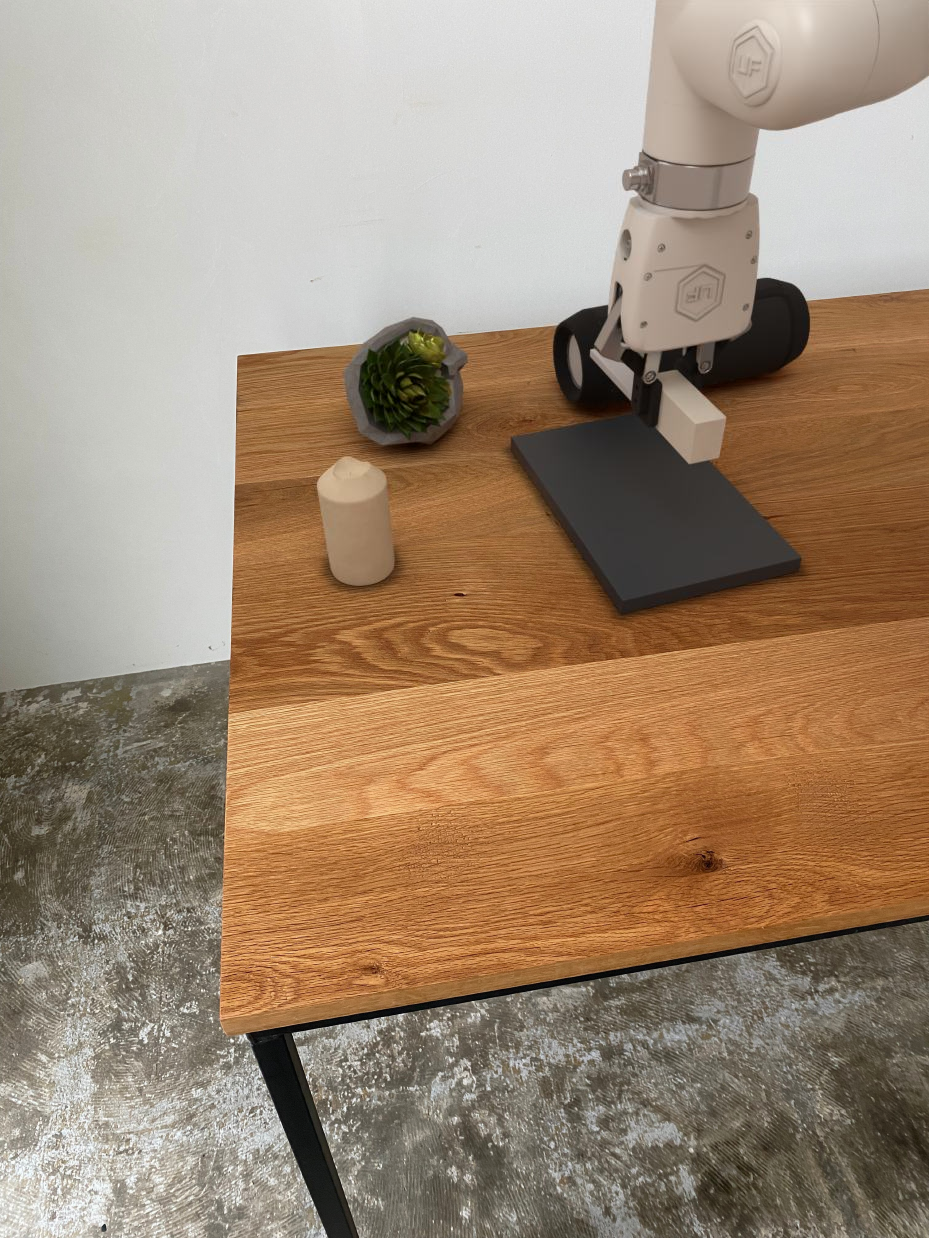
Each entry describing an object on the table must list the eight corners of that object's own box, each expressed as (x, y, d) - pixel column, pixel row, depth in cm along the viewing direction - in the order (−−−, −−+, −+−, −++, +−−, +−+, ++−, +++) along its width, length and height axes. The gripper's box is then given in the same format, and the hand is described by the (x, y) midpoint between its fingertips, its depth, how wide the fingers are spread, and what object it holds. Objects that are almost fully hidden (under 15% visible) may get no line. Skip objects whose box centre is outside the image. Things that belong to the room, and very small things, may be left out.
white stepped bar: (719, 458, 72) (727, 417, 70) (689, 464, 71) (695, 423, 69) (615, 351, 85) (619, 314, 83) (589, 356, 85) (592, 318, 82)
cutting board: (657, 420, 96) (659, 407, 95) (798, 571, 77) (802, 557, 76) (510, 450, 93) (510, 436, 92) (621, 614, 74) (622, 600, 73)
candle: (324, 554, 81) (308, 455, 74) (386, 540, 82) (375, 442, 75) (338, 592, 77) (321, 492, 70) (402, 578, 78) (392, 478, 72)
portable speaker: (584, 429, 95) (589, 337, 88) (547, 385, 102) (550, 296, 95) (803, 385, 100) (824, 294, 94) (754, 346, 107) (771, 259, 101)
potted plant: (477, 362, 99) (518, 391, 86) (399, 454, 101) (426, 496, 88) (392, 282, 94) (422, 300, 81) (311, 381, 96) (327, 414, 83)
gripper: (608, 212, 60) (590, 458, 72) (829, 180, 63) (775, 420, 76) (563, 177, 65) (554, 411, 77) (769, 149, 68) (728, 378, 81)
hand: (663, 413), depth 76 cm, fingers closed on white stepped bar, 2 cm apart
